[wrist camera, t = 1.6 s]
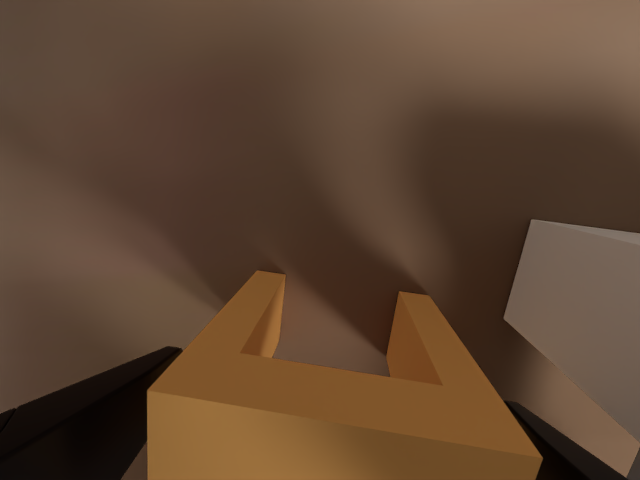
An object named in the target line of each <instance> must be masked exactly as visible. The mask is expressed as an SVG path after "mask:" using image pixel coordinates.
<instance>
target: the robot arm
mask: <svg viewBox="0 0 640 480" xmlns="http://www.w3.org/2000/svg"><path fill="white" fill-rule="evenodd" d="M182 352H183V350H182V349H181V348H177V347H171V346H167V347H165V348H162V349H160V350H157V351H155V352H152V353H150V354H147V355H145V356H142V357H140V358H137V359H135V360H132V361H130V362H127V363H125V364H122V365H120V366H117V367H115V368H112V369H110V370H108V371H105V372H103V373H100V374H98V375H95V376H93V377H90V378H88V379H85V380H83V381H80V382H78V383H75V384H73V385H70V386H68V387H65V388H63V389H60V390H58V391H55V392H53V393H50V394H48V395H45V396H43V397H40V398H38V399H36V400H33V401H31V402H28V403H26V404H23V405H21V406H19V407H18V408H17V409H16V408H13V409H10V410H8V411H6V412H3V413H1V414H0V480H121V478H122V477H123V475H124V474H125V472H126V471H127V469H128V468H129V466H130V465H131V463H132V462H133V460H134V459H135V457H136V456H137V455H138V453H139V452H140V450H141V449H142V447H143V446H144V444H145V443H146V441H147V390H148V389H149V388H150V387H151V386H152V384H153V383H154V382H155V381H156V380H157V379H158V378H159V377H160V376H161V375H162V374H163V372H164V371H165V370H166V369H167V368H168V367H169V366H170V365H171V364H172V363H173V362H174V360H175V359H176V358H177V357H178V356H179V355H180V354H181V353H182ZM503 402H504V403H505V405H506V406H507V407H508V409H509V410H510V412H511V413H512V415H513V416H514V417H515V419H516V420H517V422H518V423H519V425H520V426H521V427H522V429H523V430H524V432H525V433H526V435H527V436H528V437H529V439H530V440H531V442H532V443H533V445H534V446H535V447H536V449H537V450H538V452H539V453H540V455H541V456H542V457H543V460H542V462H541V465H540V468H539V471H538V474H537V476H536V479H535V480H628V479H627V478H626V477H624V476H623V475H621V474H620V473H618V472H617V471H615V470H614V469H613V468H611V467H610V466H608V465H607V464H605V463H604V462H602V461H601V460H600V459H598V458H597V457H595V456H594V455H592V454H591V453H589V452H588V451H587V450H585V449H584V448H582V447H581V446H579V445H578V444H576V443H575V442H574V441H572V440H571V439H569V438H568V437H566V436H565V435H563V434H562V433H561V432H559V431H558V430H556V429H555V428H553V427H552V426H551V425H549V424H548V423H546V422H545V421H543V420H542V419H540V418H539V417H538V416H536V415H535V414H533V413H532V412H530V411H529V410H527V409H526V408H525V407H523V406H522V405H520V404H519V403H516V402H511V401H505V400H503Z"/></svg>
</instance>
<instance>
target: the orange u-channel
mask: <svg viewBox="0 0 640 480" xmlns="http://www.w3.org/2000/svg"><path fill="white" fill-rule="evenodd" d="M285 279H286V274H279V273H272V272H265V271H258V270H257V271H256V272H255V273H254V274H253V275H252V277H251V278H250V279H249V280H248V281H247V282H246V283H245V284H244V285H243V286H242V287H241V289H240V290H239V291H238V292H237V293H236V294H235V295H234V296H233V297H232V298H231V299H230V301H229V302H228V303H227V304H226V305H225V306H224V307H223V308H222V309H221V310H220V311H219V313H218V314H217V315H216V316H215V317H214V318H213V319H212V320H211V321H210V322H209V323H208V325H207V326H206V327H205V328H204V329H203V330H202V331H201V332H200V333H199V334H198V335H197V337H196V338H195V339H194V340H193V341H192V342H191V343H190V344H189V345H188V346H187V347H186V349H185V350H184V351H183V352H182V353H181V354H180V355H179V356H178V357H177V358H176V359H175V360H174V362H173V363H172V364H171V365H170V366H169V367H168V368H167V369H166V370H165V371H164V372H163V374H162V375H161V376H160V377H159V378H158V379H157V380H156V381H155V382H154V383H153V384H152V386H151V387H150V388H149V389H148V390H147V459H148V480H535V479H536V476H537V474H538V471H539V468H540V465H541V462H542V460H543V457H542V456H541V455H540V453H539V452H538V450H537V449H536V447H535V446H534V445H533V443H532V442H531V440H530V439H529V437H528V436H527V435H526V433H525V432H524V430H523V429H522V427H521V426H520V425H519V423H518V422H517V420H516V419H515V417H514V416H513V415H512V413H511V412H510V410H509V409H508V407H507V406H506V405H505V403H504V402H503V400H502V399H501V397H500V396H499V395H498V393H497V392H496V390H495V389H494V387H493V386H492V384H491V383H490V382H489V380H488V379H487V377H486V376H485V374H484V373H483V372H482V370H481V369H480V367H479V366H478V364H477V363H476V362H475V360H474V359H473V357H472V356H471V354H470V353H469V352H468V350H467V349H466V347H465V346H464V344H463V343H462V342H461V340H460V339H459V337H458V336H457V334H456V333H455V332H454V330H453V329H452V327H451V326H450V324H449V323H448V322H447V320H446V319H445V317H444V316H443V314H442V313H441V312H440V310H439V309H438V307H437V306H436V304H435V303H434V302H433V300H432V299H431V297H430V296H429V295H422V294H415V293H409V292H402V291H399V294H398V299H397V304H396V309H395V314H394V319H393V324H392V330H391V335H390V340H389V345H388V350H387V355H386V359H387V363H388V368H389V372H390V376H391V377H386V376H380V375H374V374H368V373H361V372H355V371H349V370H343V369H337V368H330V367H324V366H318V365H312V364H306V363H299V362H293V361H287V360H281V359H275V358H272V357H273V354H274V352H275V349H276V347H277V344H278V342H279V337H280V327H281V318H282V308H283V298H284V289H285Z"/></svg>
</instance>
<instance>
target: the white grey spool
mask: <svg viewBox="0 0 640 480" xmlns="http://www.w3.org/2000/svg"><path fill="white" fill-rule="evenodd" d="M503 319H504V320H505V321H506V322H508V323H509V324H510V325H511V326H512V327H513V328H514V329H515V330H516V331H517V332H519V333H520V334H521V335H522V336H523V337H524V338H525V339H526V340H527V341H528V342H530V343H531V344H532V345H533V346H534V347H535V348H536V349H537V350H538V351H540V352H541V353H542V354H543V355H544V356H545V357H546V358H547V359H548V360H549V361H551V362H552V363H553V364H554V365H555V366H556V367H557V368H558V369H559V370H560V371H562V372H563V373H564V374H565V375H566V376H567V377H568V378H569V379H570V380H571V381H573V382H574V383H575V384H576V385H577V386H578V387H579V388H580V389H581V390H582V391H584V392H585V393H586V394H587V395H588V396H589V397H590V398H591V399H592V400H593V401H595V402H596V403H597V404H598V405H599V406H600V407H601V408H602V409H603V410H604V411H606V412H607V413H608V414H609V415H610V416H611V417H612V418H613V419H614V420H616V421H617V422H618V423H619V424H620V425H621V426H622V427H623V428H624V429H625V430H627V431H628V432H629V433H630V434H631V435H632V436H633V437H634V438H635V439H636V440H638V441H639V442H640V233H633V232H625V231H618V230H610V229H602V228H595V227H587V226H579V225H572V224H564V223H556V222H549V221H541V220H533V219H531V223H530V226H529V230H528V233H527V237H526V240H525V244H524V247H523V251H522V254H521V258H520V261H519V265H518V268H517V272H516V275H515V279H514V282H513V286H512V289H511V293H510V296H509V300H508V303H507V307H506V311H505V314H504V318H503ZM627 479H628V480H640V448H639V451H638V453H637V455H636V457H635V460H634V462H633V464H632V466H631V469H630V471H629V473H628V475H627Z"/></svg>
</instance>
